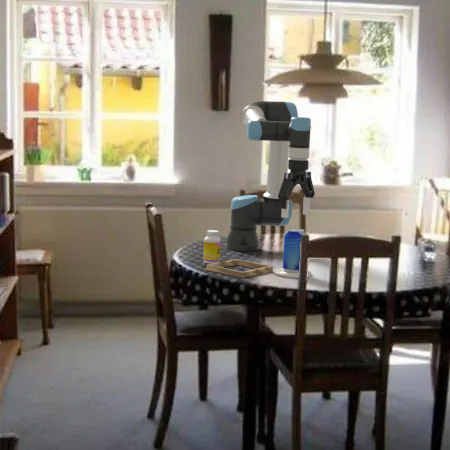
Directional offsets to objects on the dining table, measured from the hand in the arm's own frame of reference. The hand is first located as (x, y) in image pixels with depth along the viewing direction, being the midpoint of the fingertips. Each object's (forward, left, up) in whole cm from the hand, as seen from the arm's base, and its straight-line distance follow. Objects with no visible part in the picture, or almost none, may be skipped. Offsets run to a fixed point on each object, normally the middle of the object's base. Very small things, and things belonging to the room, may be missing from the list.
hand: (295, 216), depth 296 cm
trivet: (0, 0, -22) cm, 22 cm away
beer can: (0, 0, -21) cm, 21 cm away
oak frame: (+11, -17, -22) cm, 30 cm away
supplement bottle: (+8, -34, -22) cm, 41 cm away
